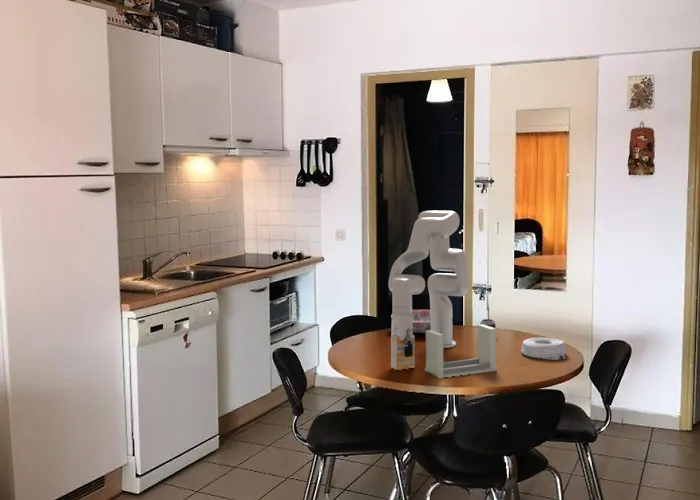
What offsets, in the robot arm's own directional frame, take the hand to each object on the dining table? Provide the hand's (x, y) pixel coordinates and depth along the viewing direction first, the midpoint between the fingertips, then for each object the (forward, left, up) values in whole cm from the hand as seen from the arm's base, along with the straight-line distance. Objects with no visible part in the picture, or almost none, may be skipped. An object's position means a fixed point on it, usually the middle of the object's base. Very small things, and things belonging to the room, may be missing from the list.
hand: (402, 353), depth 280 cm
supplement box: (0, 0, -6) cm, 6 cm away
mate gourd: (-31, +58, -6) cm, 66 cm away
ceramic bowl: (-55, +37, -6) cm, 67 cm away
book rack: (+13, +18, -6) cm, 23 cm away
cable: (+6, +61, -6) cm, 62 cm away
